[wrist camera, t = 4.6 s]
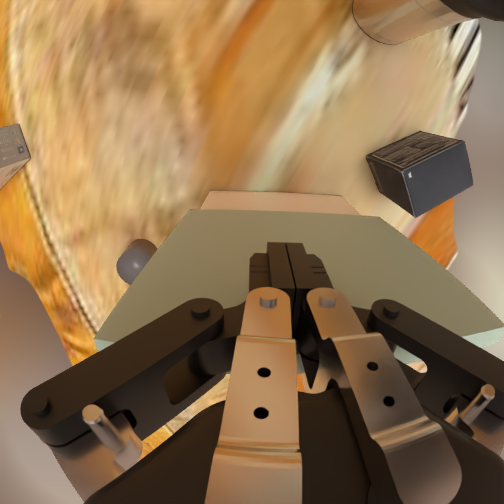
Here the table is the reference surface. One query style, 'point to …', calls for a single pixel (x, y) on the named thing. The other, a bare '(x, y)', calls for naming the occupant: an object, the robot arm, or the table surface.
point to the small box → (421, 171)
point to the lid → (315, 242)
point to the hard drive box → (11, 152)
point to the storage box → (277, 202)
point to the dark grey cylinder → (135, 259)
